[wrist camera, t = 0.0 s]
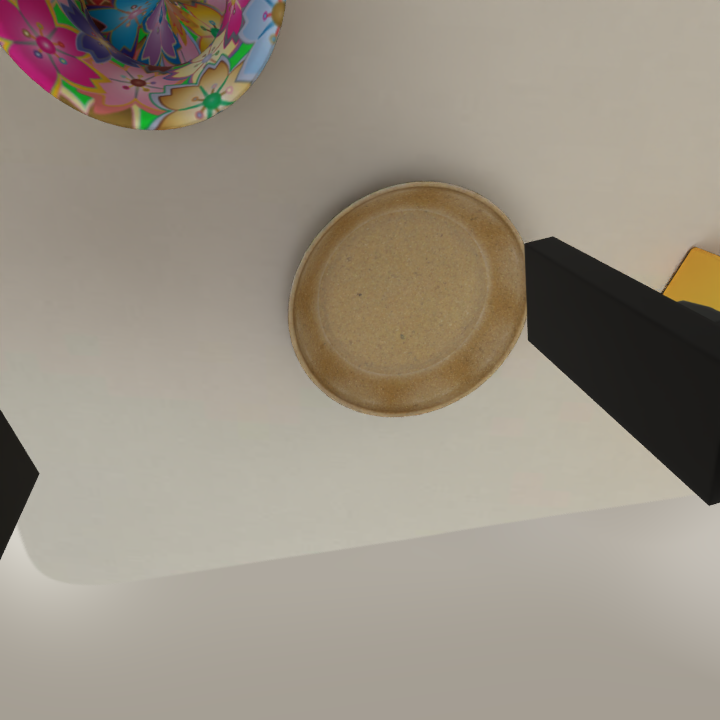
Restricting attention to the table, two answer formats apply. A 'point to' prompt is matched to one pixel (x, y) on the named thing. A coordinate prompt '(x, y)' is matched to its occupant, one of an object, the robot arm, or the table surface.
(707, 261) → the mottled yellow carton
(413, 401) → the plant saucer
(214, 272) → the table surface
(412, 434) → the table surface
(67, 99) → the mug
